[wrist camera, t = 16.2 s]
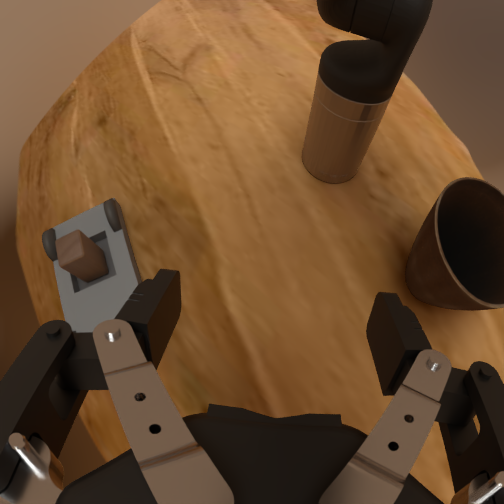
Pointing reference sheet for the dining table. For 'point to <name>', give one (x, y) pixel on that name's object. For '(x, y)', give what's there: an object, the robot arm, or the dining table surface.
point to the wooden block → (81, 256)
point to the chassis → (107, 286)
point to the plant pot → (461, 249)
